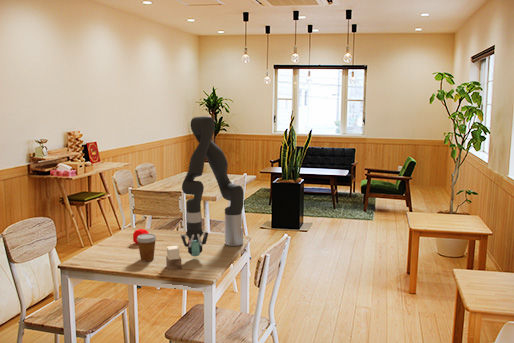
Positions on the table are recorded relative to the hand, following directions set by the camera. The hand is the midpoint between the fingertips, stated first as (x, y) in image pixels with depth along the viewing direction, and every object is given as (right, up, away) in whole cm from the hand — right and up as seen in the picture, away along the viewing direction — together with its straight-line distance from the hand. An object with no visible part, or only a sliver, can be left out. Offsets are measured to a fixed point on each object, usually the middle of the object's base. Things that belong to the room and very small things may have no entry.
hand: (195, 253), depth 253 cm
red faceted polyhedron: (-33, +1, +25) cm, 41 cm away
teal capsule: (0, -1, 0) cm, 1 cm away
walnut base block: (-9, -5, -11) cm, 15 cm away
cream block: (-9, 0, -12) cm, 15 cm away
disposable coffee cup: (-24, -3, 0) cm, 24 cm away
